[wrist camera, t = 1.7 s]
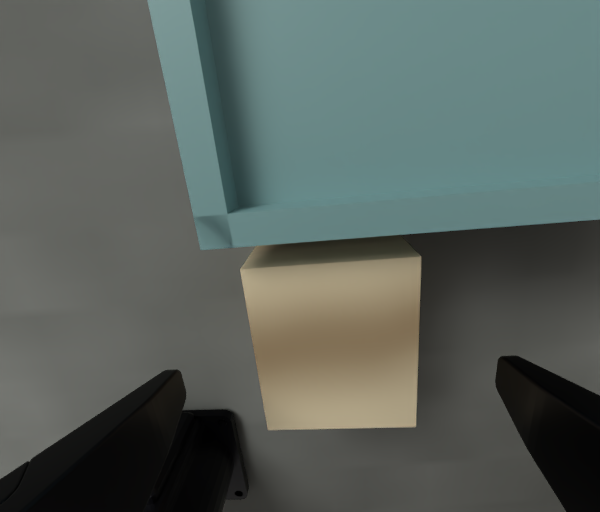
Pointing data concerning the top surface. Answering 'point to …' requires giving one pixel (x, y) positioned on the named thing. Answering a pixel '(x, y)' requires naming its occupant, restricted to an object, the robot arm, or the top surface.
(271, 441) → the top surface
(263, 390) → the block
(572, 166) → the teal toy wagon
